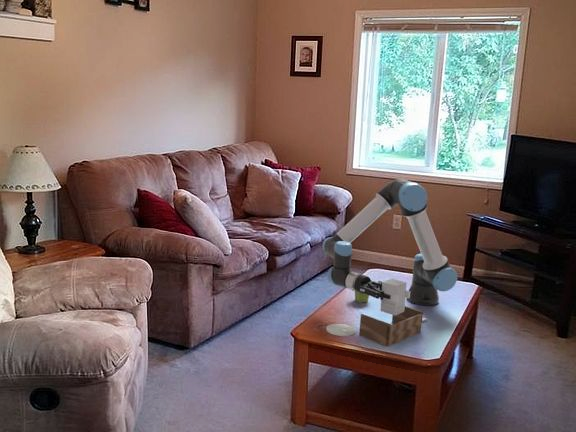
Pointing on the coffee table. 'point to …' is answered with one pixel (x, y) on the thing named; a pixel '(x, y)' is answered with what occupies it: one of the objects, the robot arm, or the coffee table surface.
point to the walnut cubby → (392, 327)
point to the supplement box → (397, 289)
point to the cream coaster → (340, 330)
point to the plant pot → (361, 297)
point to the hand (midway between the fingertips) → (403, 297)
